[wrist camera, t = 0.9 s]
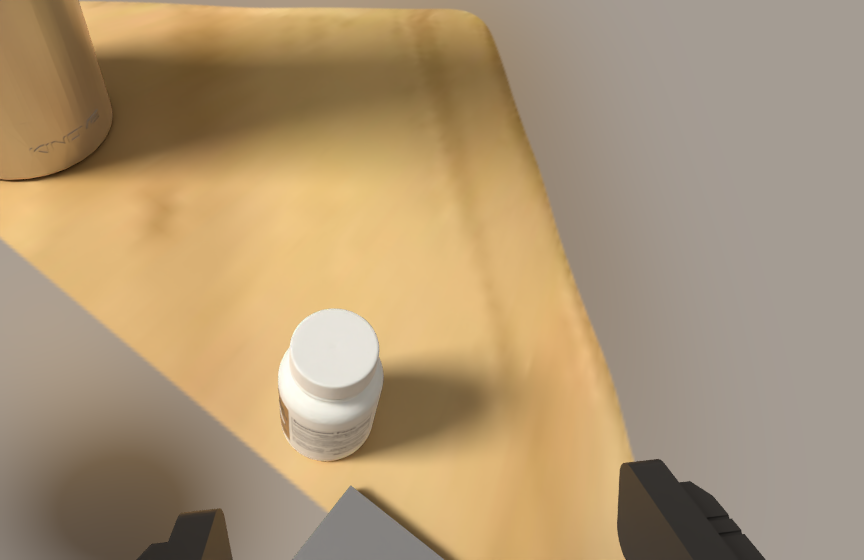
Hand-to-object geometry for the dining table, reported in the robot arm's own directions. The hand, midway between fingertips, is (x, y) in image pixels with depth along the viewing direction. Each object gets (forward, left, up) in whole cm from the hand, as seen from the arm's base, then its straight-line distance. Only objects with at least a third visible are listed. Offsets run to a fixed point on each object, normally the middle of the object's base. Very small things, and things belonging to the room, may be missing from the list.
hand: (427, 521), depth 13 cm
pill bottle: (-7, +6, -17) cm, 19 cm away
